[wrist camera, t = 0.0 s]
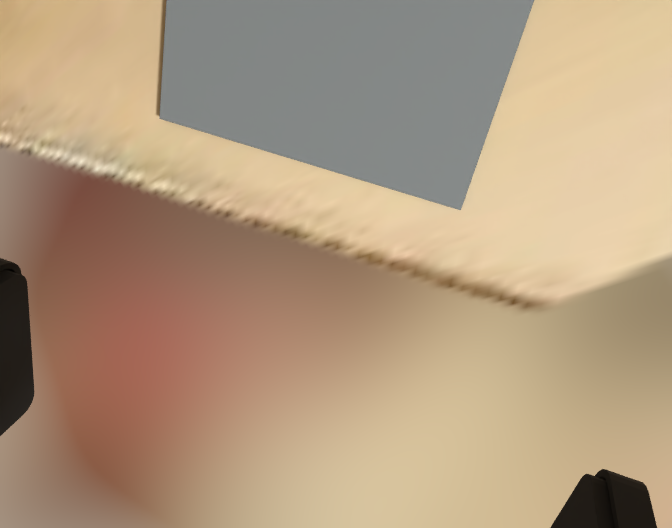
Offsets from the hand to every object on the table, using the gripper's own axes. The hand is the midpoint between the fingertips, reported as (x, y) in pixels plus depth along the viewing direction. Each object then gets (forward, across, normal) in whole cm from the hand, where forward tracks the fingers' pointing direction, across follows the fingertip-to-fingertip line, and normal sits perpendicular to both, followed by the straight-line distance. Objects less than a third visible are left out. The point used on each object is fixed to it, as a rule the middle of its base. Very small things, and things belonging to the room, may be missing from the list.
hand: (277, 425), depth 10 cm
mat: (+31, +8, -2) cm, 32 cm away
